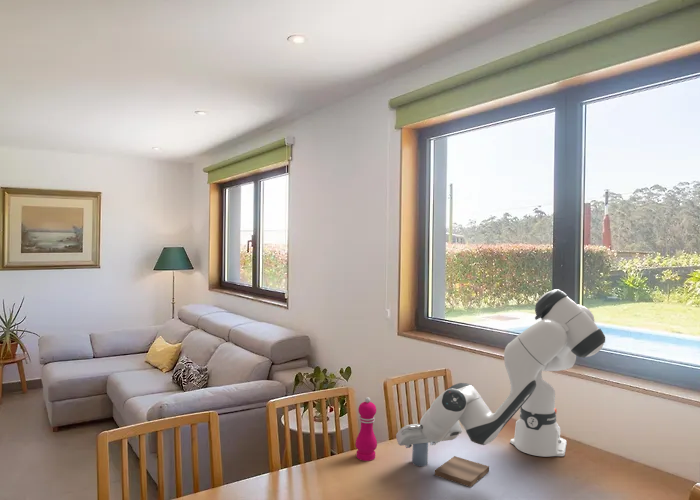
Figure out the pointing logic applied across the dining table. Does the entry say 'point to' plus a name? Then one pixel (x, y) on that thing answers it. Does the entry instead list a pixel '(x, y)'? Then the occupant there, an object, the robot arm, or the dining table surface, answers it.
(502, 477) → the dining table surface
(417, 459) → the spice jar
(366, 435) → the pepper mill
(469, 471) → the walnut board
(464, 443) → the dining table surface
